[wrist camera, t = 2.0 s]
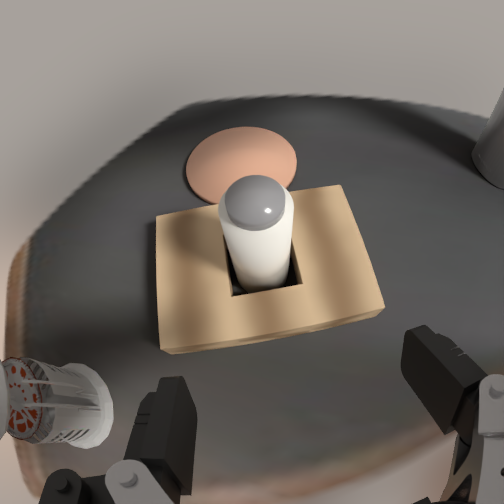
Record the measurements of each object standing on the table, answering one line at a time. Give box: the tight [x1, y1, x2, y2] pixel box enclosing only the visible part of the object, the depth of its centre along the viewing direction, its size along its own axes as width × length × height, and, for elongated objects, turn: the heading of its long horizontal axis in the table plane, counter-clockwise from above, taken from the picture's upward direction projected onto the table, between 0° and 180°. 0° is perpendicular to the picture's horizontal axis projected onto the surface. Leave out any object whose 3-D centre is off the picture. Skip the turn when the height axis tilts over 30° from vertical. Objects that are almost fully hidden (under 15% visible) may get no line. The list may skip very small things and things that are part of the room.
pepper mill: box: [218, 175, 294, 294], centre depth 25 cm, size 5×5×12 cm
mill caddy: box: [156, 185, 385, 354], centre depth 29 cm, size 20×14×3 cm
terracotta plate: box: [186, 127, 297, 205], centre depth 37 cm, size 14×14×1 cm
